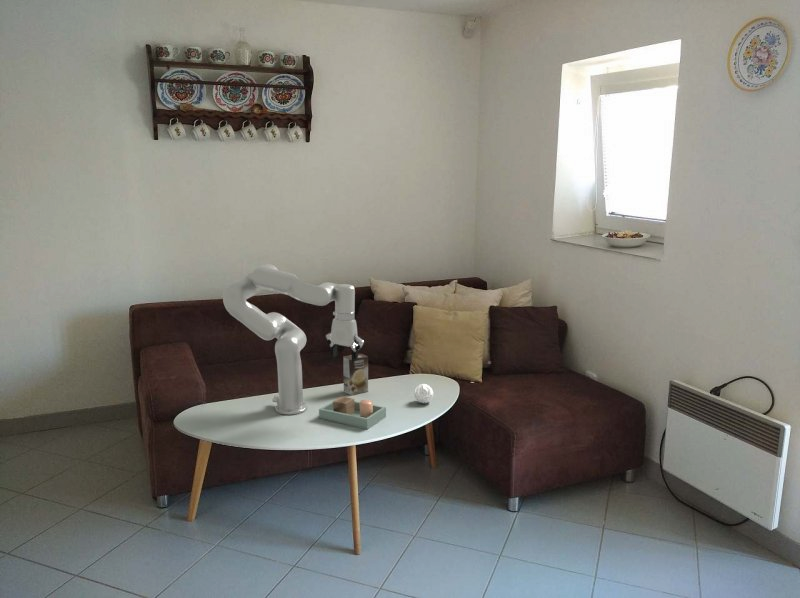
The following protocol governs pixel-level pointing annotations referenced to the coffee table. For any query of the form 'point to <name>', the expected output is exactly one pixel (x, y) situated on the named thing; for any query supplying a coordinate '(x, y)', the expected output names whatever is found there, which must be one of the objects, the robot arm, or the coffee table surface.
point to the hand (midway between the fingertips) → (344, 358)
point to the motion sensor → (423, 393)
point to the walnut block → (344, 405)
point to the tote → (353, 416)
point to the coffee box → (355, 374)
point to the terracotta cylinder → (366, 408)
